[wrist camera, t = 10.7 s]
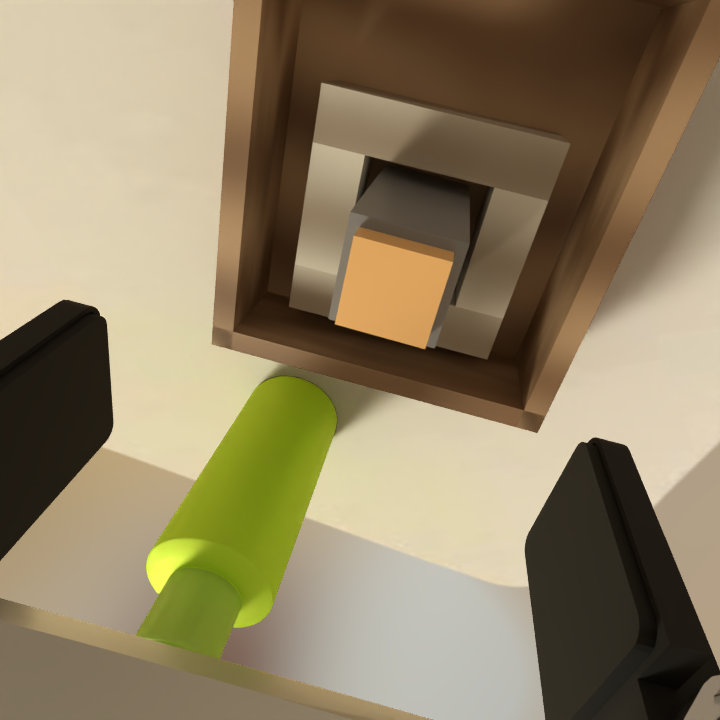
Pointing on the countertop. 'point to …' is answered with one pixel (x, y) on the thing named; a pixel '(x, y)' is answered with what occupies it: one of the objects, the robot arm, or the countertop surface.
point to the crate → (449, 174)
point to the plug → (402, 256)
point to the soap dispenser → (240, 519)
